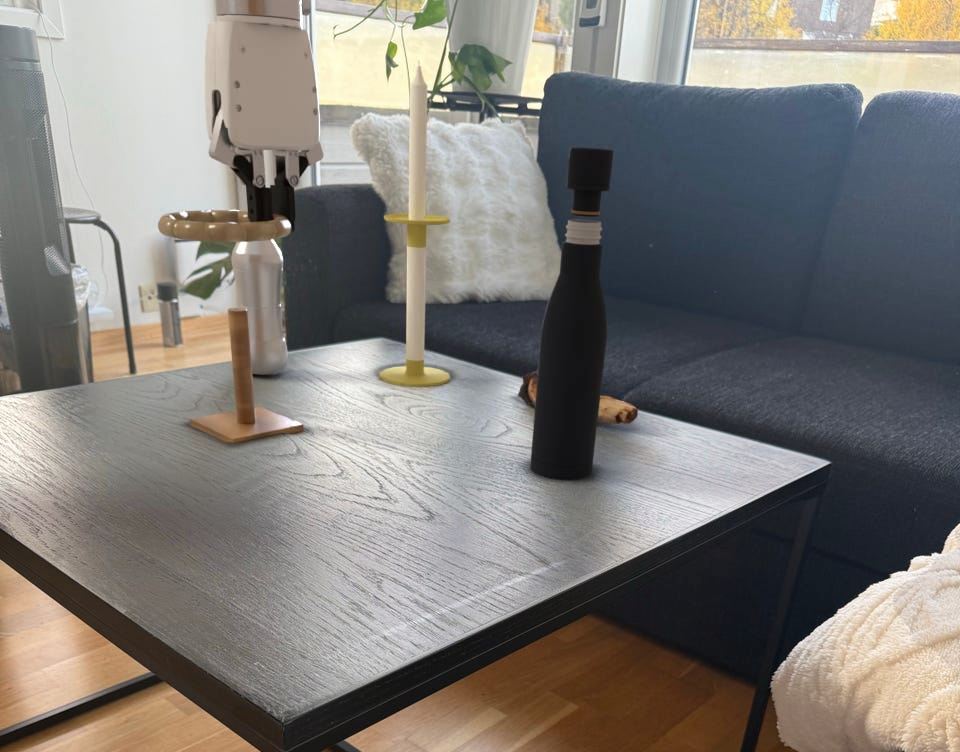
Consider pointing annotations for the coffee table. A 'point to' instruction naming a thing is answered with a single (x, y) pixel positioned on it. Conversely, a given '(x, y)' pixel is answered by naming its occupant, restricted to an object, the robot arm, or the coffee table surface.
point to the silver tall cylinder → (261, 302)
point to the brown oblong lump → (608, 407)
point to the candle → (416, 249)
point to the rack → (243, 395)
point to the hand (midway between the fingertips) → (272, 229)
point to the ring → (222, 226)
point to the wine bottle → (574, 333)
